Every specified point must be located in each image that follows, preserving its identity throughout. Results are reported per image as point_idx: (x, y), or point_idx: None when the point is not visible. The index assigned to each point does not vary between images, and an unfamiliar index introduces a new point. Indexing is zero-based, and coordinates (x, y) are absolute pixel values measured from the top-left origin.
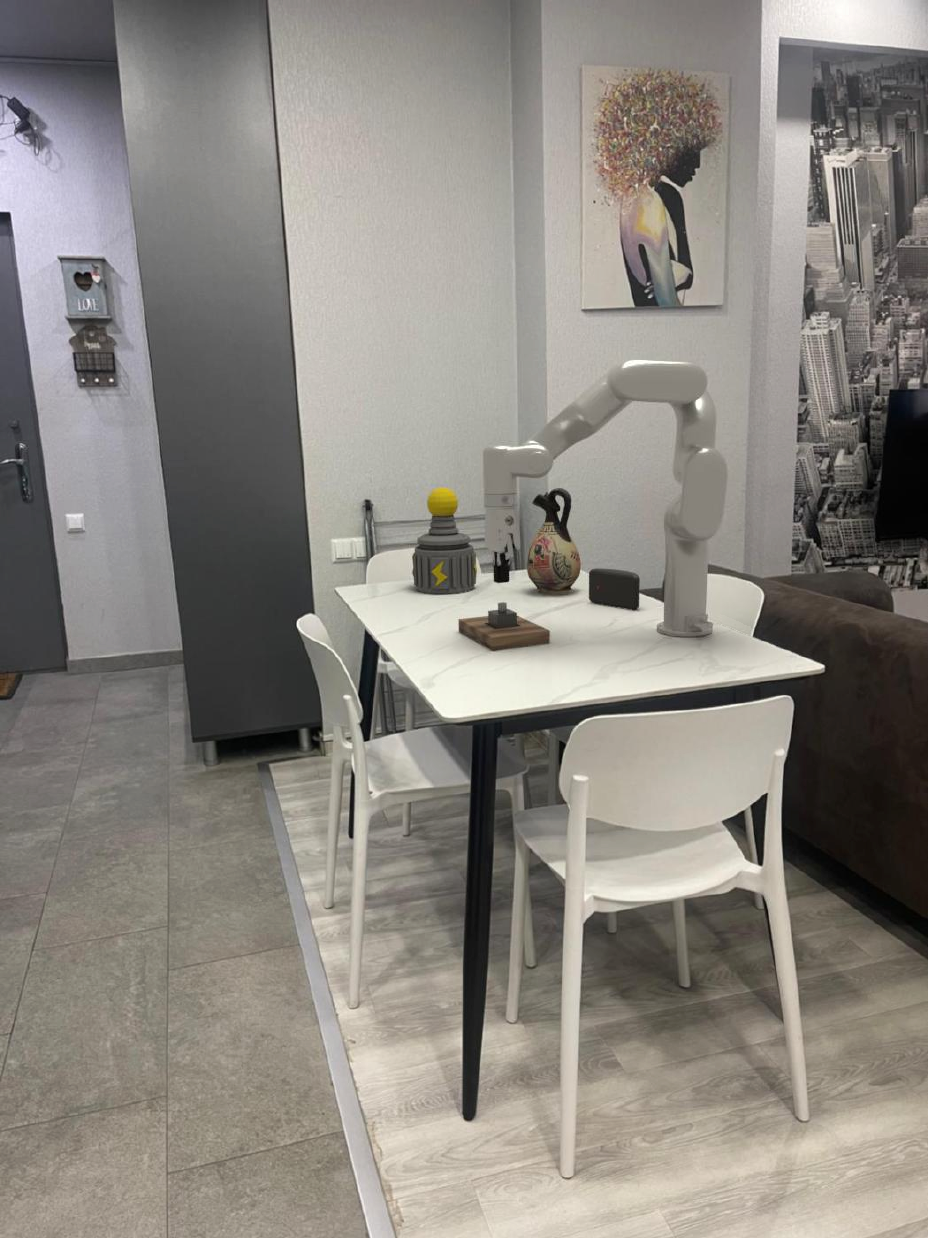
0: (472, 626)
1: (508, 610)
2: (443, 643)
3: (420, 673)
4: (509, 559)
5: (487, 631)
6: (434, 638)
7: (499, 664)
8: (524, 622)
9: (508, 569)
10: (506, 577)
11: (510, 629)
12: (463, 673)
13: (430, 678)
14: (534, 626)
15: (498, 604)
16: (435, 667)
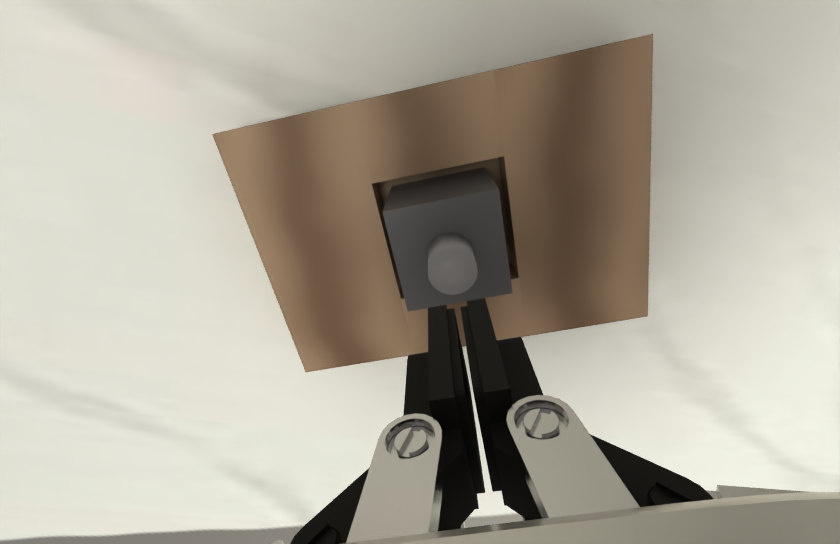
0: None
1: (428, 218)
2: None
3: None
4: (677, 479)
5: (547, 313)
6: None
7: (795, 302)
8: (437, 122)
9: (501, 361)
10: (523, 345)
11: (551, 220)
12: (817, 407)
13: (804, 476)
14: (538, 92)
15: (459, 292)
16: (715, 455)
